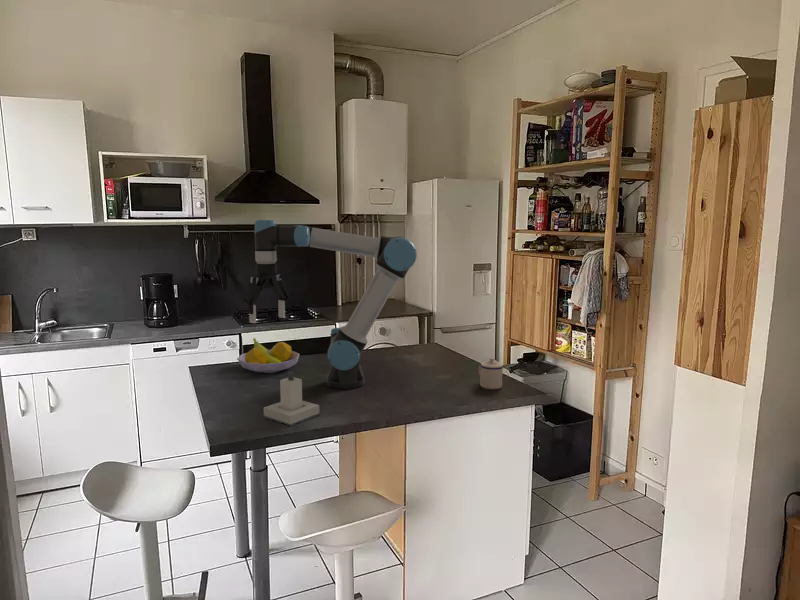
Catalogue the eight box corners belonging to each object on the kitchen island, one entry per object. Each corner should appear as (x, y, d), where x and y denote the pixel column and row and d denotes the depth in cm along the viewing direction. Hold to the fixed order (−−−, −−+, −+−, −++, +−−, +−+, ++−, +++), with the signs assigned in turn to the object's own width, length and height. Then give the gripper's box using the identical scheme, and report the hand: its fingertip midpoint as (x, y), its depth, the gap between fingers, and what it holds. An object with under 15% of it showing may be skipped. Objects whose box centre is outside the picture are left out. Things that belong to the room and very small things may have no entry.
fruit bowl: (305, 374, 235) (305, 348, 233) (239, 379, 225) (238, 353, 224) (294, 358, 261) (293, 335, 259) (234, 363, 251) (233, 339, 250)
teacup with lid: (507, 387, 219) (508, 359, 217) (490, 391, 214) (491, 362, 212) (486, 379, 229) (487, 352, 227) (470, 383, 224) (471, 355, 222)
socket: (255, 415, 185) (255, 405, 185) (284, 404, 196) (284, 395, 195) (290, 426, 175) (290, 416, 175) (319, 415, 186) (319, 405, 185)
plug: (280, 414, 184) (280, 372, 182) (292, 410, 188) (291, 369, 186) (291, 417, 181) (290, 375, 179) (302, 413, 185) (301, 372, 183)
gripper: (285, 260, 212) (286, 314, 215) (230, 264, 192) (233, 323, 195) (298, 261, 207) (299, 316, 210) (244, 265, 187) (246, 326, 190)
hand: (267, 320), depth 202 cm, fingers open, 13 cm apart
